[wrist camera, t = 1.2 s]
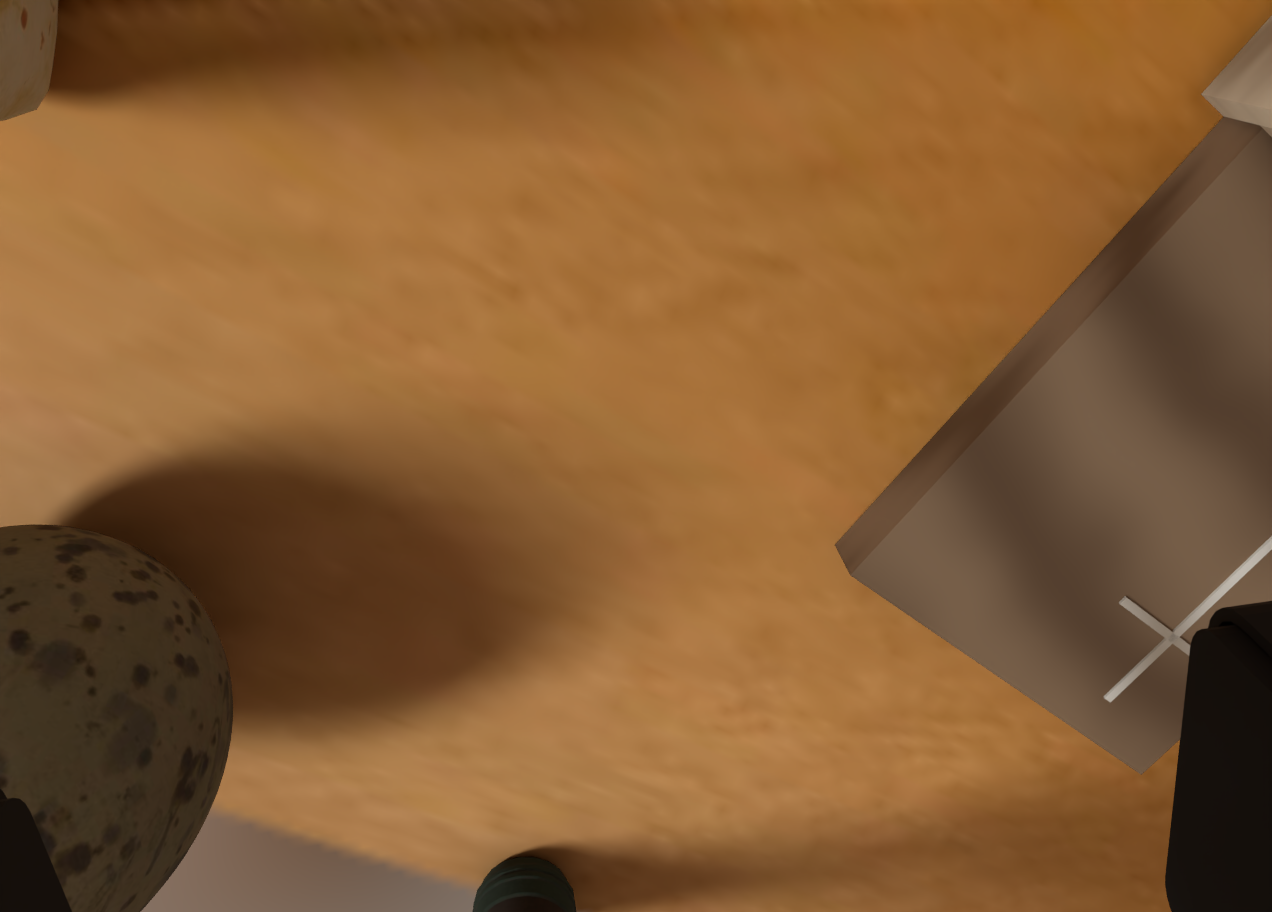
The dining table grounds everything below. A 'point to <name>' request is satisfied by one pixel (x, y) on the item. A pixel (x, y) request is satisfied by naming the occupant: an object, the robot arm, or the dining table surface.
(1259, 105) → the block
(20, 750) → the decorative egg
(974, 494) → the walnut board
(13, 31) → the food model
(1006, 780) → the dining table surface
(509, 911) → the stick grenade
